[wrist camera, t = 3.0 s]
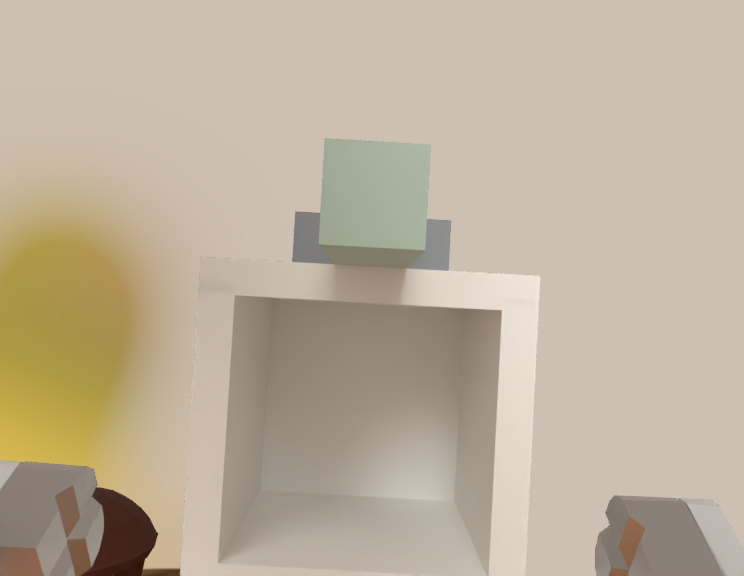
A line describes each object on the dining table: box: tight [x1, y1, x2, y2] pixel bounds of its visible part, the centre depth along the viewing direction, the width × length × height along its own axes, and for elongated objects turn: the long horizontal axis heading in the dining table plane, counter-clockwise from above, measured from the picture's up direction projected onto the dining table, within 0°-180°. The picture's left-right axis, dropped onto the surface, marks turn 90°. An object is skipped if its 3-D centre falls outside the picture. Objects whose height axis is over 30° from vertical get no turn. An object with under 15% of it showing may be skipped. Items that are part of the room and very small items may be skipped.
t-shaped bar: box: [292, 138, 451, 271], centre depth 27 cm, size 18×8×3 cm, turn 0°
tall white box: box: [180, 257, 540, 576], centre depth 32 cm, size 12×14×26 cm
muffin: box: [81, 487, 158, 576], centre depth 46 cm, size 12×11×10 cm
